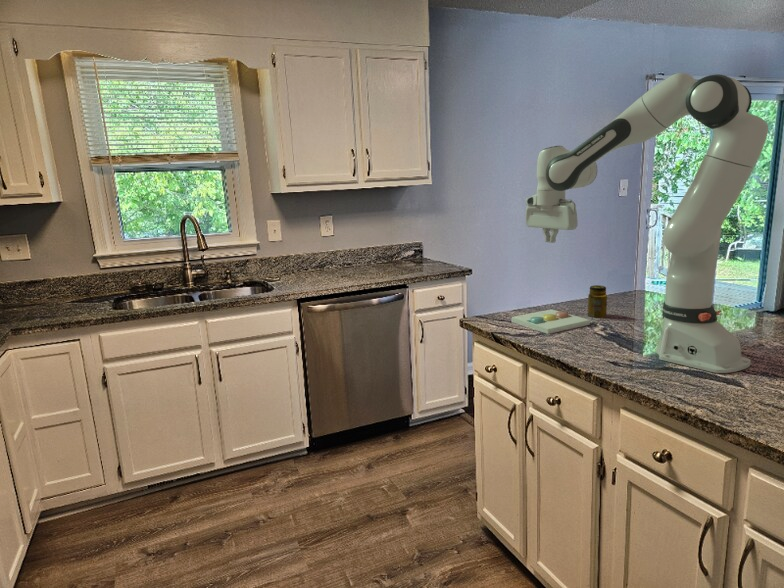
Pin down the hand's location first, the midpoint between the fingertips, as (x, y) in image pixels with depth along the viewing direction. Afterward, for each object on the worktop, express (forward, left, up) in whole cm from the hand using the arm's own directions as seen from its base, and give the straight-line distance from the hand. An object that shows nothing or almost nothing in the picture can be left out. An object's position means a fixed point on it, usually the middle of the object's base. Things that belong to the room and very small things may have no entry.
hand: (550, 242), depth 166 cm
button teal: (+1, +5, -29) cm, 29 cm away
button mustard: (+1, -1, -29) cm, 29 cm away
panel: (+1, -1, -29) cm, 29 cm away
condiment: (-2, -19, -29) cm, 35 cm away
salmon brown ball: (+1, -6, -29) cm, 29 cm away
